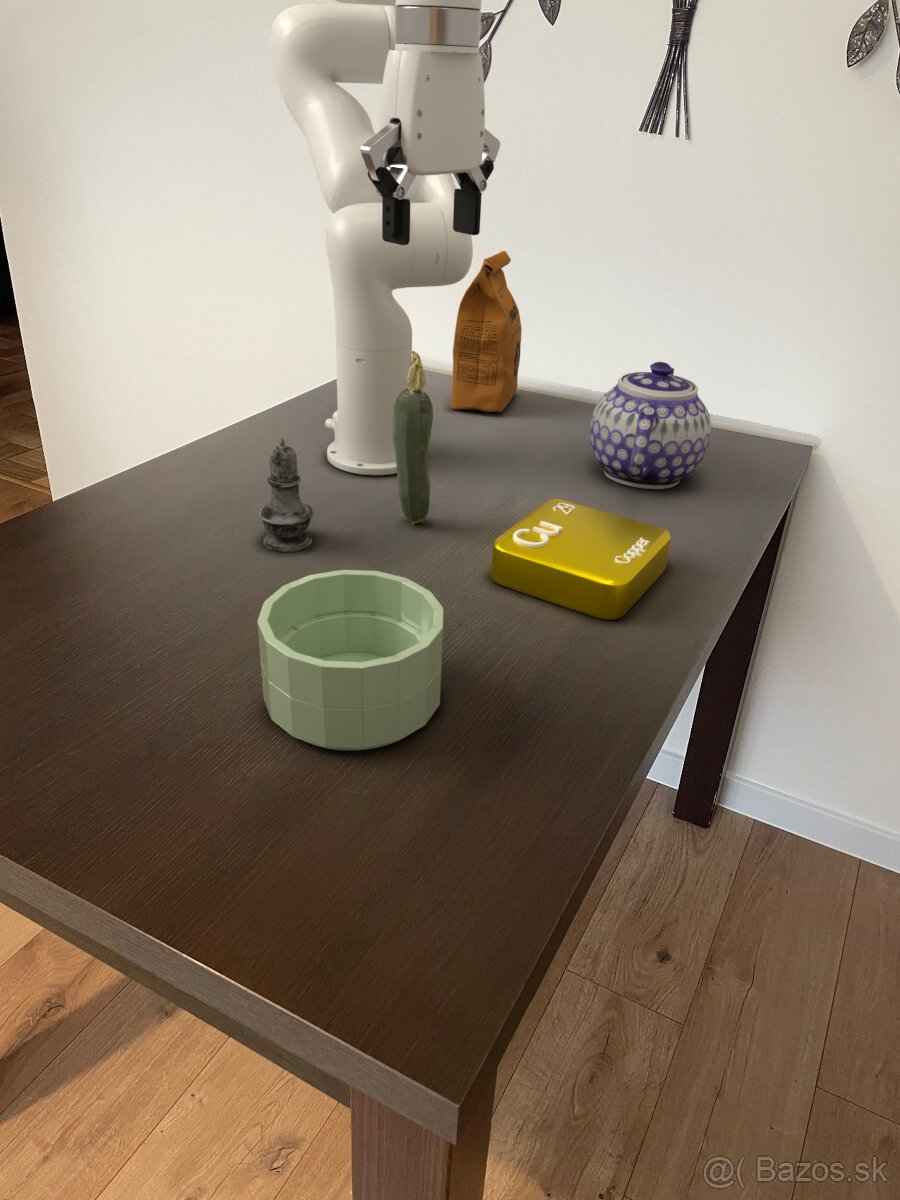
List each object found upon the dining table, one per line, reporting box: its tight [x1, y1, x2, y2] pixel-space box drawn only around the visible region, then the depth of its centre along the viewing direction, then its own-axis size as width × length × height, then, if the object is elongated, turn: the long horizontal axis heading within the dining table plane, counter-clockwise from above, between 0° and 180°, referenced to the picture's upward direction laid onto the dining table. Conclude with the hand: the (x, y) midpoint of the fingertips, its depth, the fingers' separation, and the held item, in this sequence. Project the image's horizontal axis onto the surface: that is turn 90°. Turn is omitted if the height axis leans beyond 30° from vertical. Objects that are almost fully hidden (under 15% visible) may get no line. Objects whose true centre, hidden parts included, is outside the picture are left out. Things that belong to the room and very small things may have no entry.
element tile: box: [490, 498, 672, 621], centre depth 97 cm, size 15×15×5 cm
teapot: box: [589, 361, 712, 490], centre depth 118 cm, size 25×15×15 cm, turn 160°
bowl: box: [256, 569, 444, 752], centre depth 76 cm, size 15×15×8 cm
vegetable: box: [393, 350, 434, 525], centre depth 101 cm, size 4×4×20 cm
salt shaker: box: [258, 438, 314, 553], centre depth 99 cm, size 6×6×12 cm
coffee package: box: [450, 250, 522, 413], centre depth 139 cm, size 10×12×22 cm
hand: (432, 237), depth 90 cm, fingers open, 9 cm apart
